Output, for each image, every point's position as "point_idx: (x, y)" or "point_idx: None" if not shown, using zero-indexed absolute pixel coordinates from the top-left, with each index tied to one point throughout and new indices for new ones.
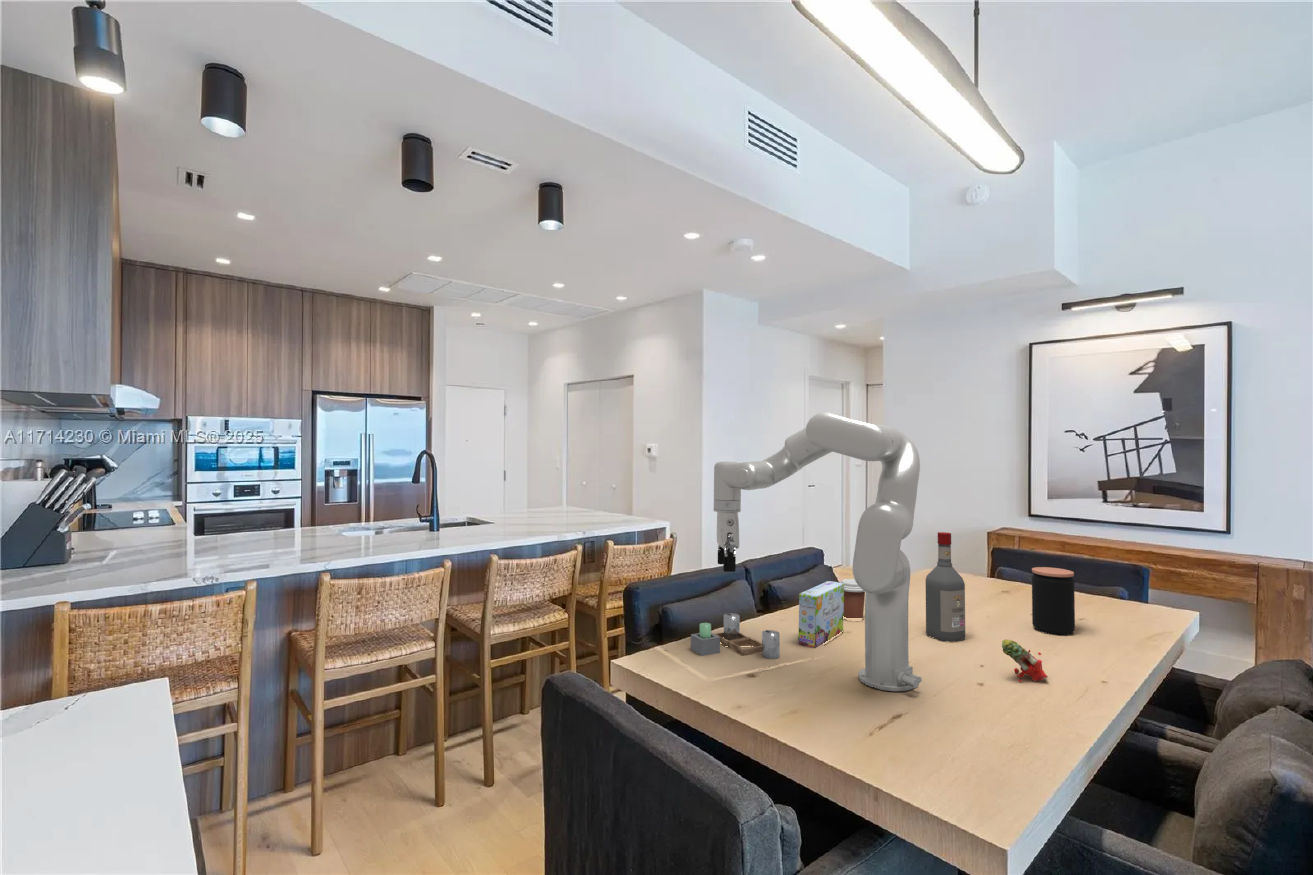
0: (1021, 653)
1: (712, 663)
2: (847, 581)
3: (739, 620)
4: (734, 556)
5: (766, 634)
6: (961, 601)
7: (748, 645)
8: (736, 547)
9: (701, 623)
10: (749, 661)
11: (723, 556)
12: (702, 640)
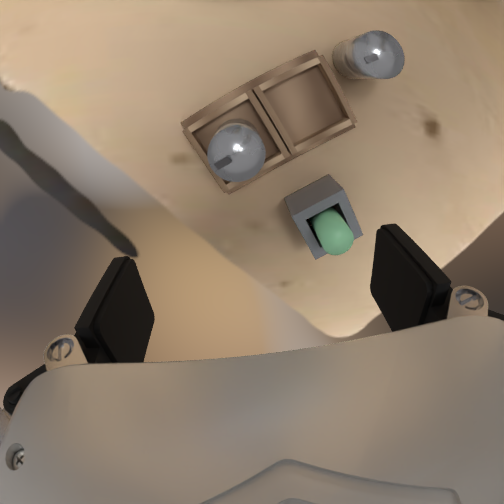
0: None
1: (368, 194)
2: None
3: (242, 125)
4: (474, 295)
5: (397, 71)
6: None
7: (275, 97)
8: (373, 336)
9: (328, 250)
10: (361, 111)
11: (131, 328)
12: (362, 233)
